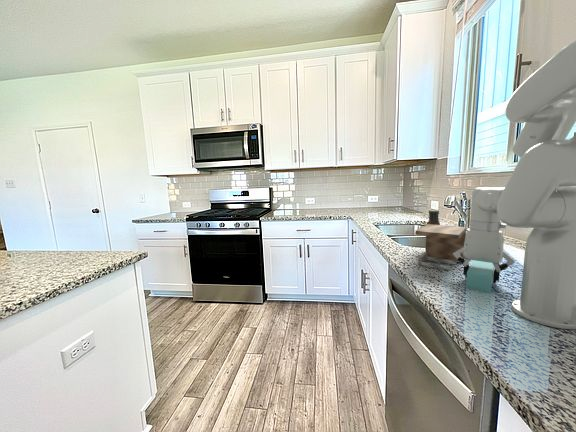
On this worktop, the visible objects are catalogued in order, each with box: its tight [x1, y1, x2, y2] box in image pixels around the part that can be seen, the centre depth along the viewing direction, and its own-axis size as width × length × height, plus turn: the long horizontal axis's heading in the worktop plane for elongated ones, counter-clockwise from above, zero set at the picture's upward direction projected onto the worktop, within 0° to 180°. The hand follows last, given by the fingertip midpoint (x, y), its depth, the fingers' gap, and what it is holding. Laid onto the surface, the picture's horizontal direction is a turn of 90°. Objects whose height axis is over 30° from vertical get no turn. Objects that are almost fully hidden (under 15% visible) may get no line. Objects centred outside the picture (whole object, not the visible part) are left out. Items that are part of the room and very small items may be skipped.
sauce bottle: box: [424, 209, 441, 250], centre depth 116 cm, size 6×6×20 cm
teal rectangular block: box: [465, 260, 495, 294], centre depth 83 cm, size 16×6×5 cm, turn 139°
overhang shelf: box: [414, 223, 467, 271], centre depth 101 cm, size 14×19×14 cm
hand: (480, 279), depth 83 cm, fingers open, 6 cm apart
